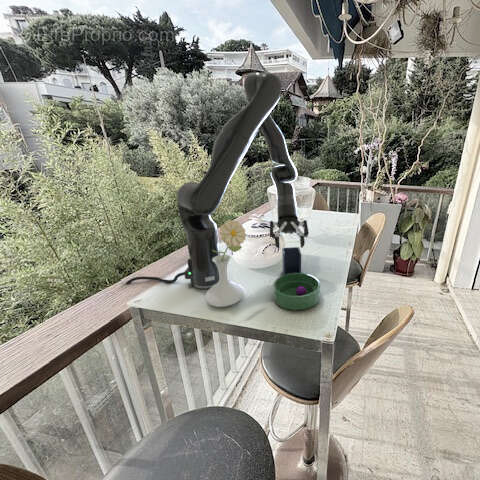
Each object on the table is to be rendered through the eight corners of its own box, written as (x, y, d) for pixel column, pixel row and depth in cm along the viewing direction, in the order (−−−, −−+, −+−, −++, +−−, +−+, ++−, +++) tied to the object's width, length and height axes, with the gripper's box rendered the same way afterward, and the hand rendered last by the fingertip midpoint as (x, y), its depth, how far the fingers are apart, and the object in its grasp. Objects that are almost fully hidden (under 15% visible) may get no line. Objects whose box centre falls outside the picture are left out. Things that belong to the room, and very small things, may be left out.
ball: (304, 298, 81) (306, 288, 81) (294, 295, 81) (296, 285, 81) (305, 296, 84) (308, 287, 84) (295, 294, 84) (298, 284, 84)
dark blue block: (282, 272, 98) (282, 247, 94) (298, 271, 99) (299, 247, 96) (284, 280, 93) (283, 254, 89) (301, 279, 94) (301, 253, 90)
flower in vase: (209, 315, 74) (198, 230, 65) (202, 295, 83) (191, 218, 73) (255, 302, 80) (250, 223, 71) (243, 284, 89) (238, 212, 80)
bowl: (272, 312, 76) (271, 297, 74) (275, 286, 89) (275, 272, 87) (321, 311, 77) (322, 296, 75) (317, 285, 90) (318, 272, 89)
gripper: (268, 203, 97) (270, 244, 91) (306, 203, 100) (311, 242, 94) (268, 213, 104) (270, 252, 98) (304, 213, 107) (308, 250, 101)
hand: (290, 247), depth 96 cm, fingers open, 8 cm apart
